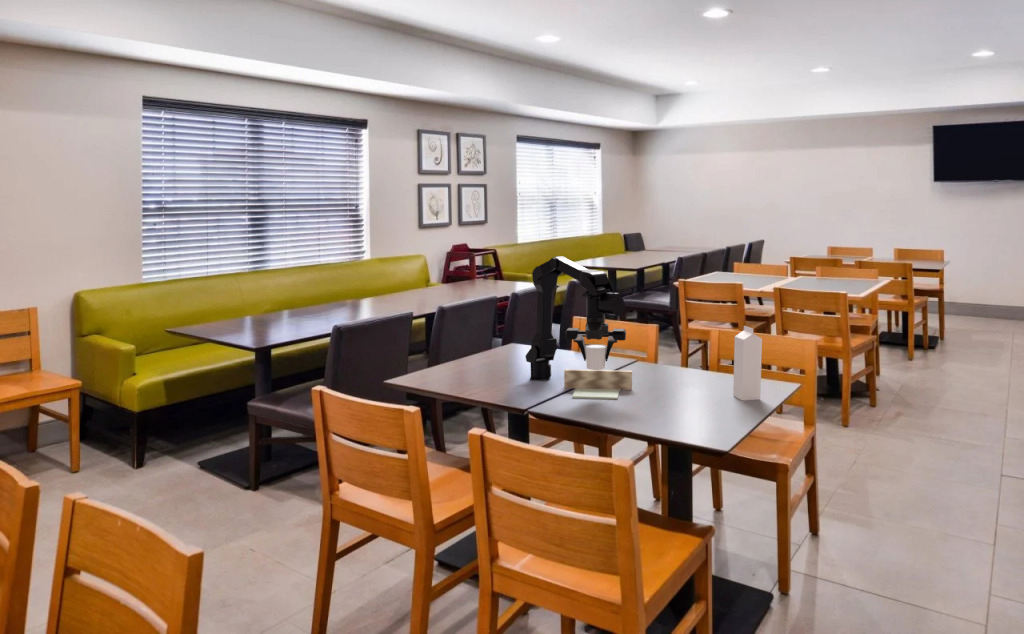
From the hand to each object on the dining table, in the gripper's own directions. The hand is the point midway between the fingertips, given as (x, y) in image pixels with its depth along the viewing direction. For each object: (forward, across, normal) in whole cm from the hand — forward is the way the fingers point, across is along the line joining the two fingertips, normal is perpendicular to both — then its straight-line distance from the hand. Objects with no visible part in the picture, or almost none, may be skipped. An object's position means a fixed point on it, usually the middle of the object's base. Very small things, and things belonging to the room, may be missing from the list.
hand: (595, 360), depth 229 cm
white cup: (+2, 0, 0) cm, 2 cm away
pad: (+11, 0, 0) cm, 11 cm away
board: (+11, 0, +8) cm, 13 cm away
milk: (+11, +46, +1) cm, 47 cm away
